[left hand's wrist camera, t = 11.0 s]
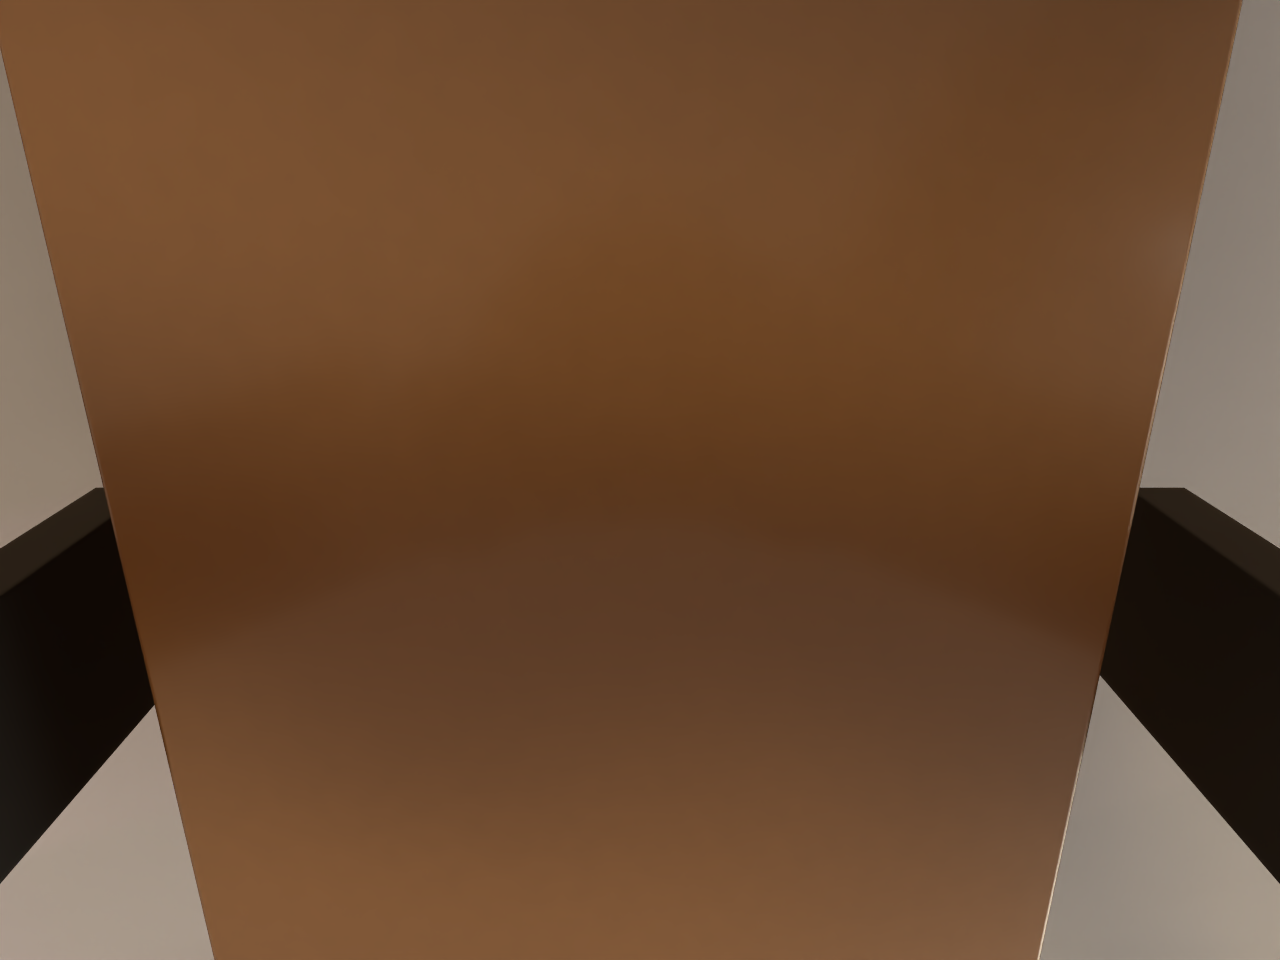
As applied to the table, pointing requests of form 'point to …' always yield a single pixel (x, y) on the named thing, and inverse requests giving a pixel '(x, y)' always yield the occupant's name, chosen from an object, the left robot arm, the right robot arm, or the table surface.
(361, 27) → the wide beam
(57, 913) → the table surface
